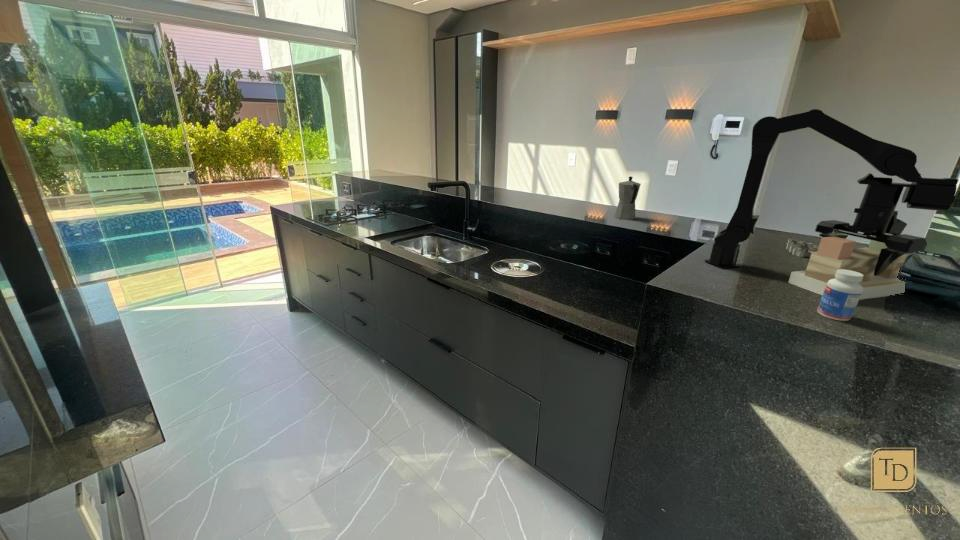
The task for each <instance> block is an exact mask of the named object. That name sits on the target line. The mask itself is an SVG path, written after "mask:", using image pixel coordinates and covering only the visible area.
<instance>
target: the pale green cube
mask: <svg viewBox="0 0 960 540" xmlns="http://www.w3.org/2000/svg"><path fill="white" fill-rule="evenodd" d="M885 234H886V235H893V234H888V233H885ZM873 237H876V236H873ZM884 248H887V246H886V245H885V243H883V242H878V241H874V240H870V242H869V243H868V249H870V250H874V251H878V252H881V249H884Z"/></svg>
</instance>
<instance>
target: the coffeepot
mask: <svg viewBox="0 0 960 540" xmlns="http://www.w3.org/2000/svg"><path fill="white" fill-rule="evenodd" d="M633 178H634V177H633V176H628V180H625V181H621V182H619V183H618V199H619V201H618V204H617V207H616V211H615V214H614V218H616V219H618V220H623V221H624V220H627V221H630V220H632V221H633V220H635V219H636V200H637V196H638V194H639V191H640V187H641V183H639V182H636V181H633Z"/></svg>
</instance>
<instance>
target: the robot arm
mask: <svg viewBox="0 0 960 540" xmlns="http://www.w3.org/2000/svg"><path fill="white" fill-rule="evenodd" d="M807 128H808V129H811V130H814V131H815V132H817V133H818V134H821V135H823V136H824V137H826V138H828V139H830V140H832V141H834V142H836V143H837V144H839V145H841V146H843V147H845V148H847V149H849V150H850V151H852V152H854V153H856V154H857V155H858V156H859V157H861V158H862V159H863V160H864V161H866V163H868V164H869V165H870V166H871V167H873V168H874V169H875V170H876V171H877V172H879V173H881V174H883V175H886V176H888V177H883V176H882V177H881V176H879V177H877V176H874V174H873V173H871V172H869V173H868V174H866V175H865V176H863V177H860V178H859V179H857V181H856V182H857V183H858V184H859V185H867V186H866V189H865V192H864V194H863V197H862V198H861V202H860V205H859V207H855V208H854V209H853V210H854V211H853V213H854V214H855V213H856V216H855V218H854V221H853V224H850V222H846V221H841V220H835V219H832V220H829V219H828V220H821V221H820V222H818V223H817V224H816V227H815V230H814V232H815V233H819V237H821V238H822V237H833V236H835V237H839V238H844V239H847V238H848V236H852V237H856V238H861V239H864V240H870V241H871V240H874V241H878V242H883V243H885V245H886V246H887V248H884V249H881V252H880V255H879V258H878V261H877V264H876V267H875V270H874V276H879V275H880V274H881V273H882V272H883V271H884V270H885V269H886V268H887V267H888V266H889V265H890V264H891V263H892V262H894V261H895V260H896V259H897V258H899V257H900V256H902V255H904V254H907V255H908V254H914V253H915V252H924V251H925V249H926V248H927V246H928V242H927V240H926V238H925V237H921V236H916V235H913V234H912V235H911V234H907V233H905V234H904V233H903V231H904V230H905V229H906V227H907V226H908V223H906V222H905V221H903V220H901V219H899V218H898V212H899V211H898V210H896V207H897V206H898V202H899V200H900V197H901V195H902V197H901V203H902V204H906V208H907V209H913V210H914V209H917V210H927V211H928V210H929V211H938V212H939V211H940V212H947V211H948V210H949V209H950V208H951V206H952V205H953V203H954V201H955V200H956V197H957V195H956V193H957V189H958V188H957V184H958V182H959V179H958V178H955V177H944V178H937V177H936V178H935V177H922V176H921V175H922V174H921V173H919V171H918V169H917V167H916V164H917V162H918V161H917V157H918V156H917V154H916V153H915V152H914V151H912V149H908V148H906V147H902V146H898V145H895V144H892V143H888V142H886V141H881V140H878V139H874V138H872V137H871V136H868V135H867V134H865V133H863V132H861V131H859V130H858V129H855V128H853V127H851V126H849V125H848V124H846V123H843V122H841V121H839V120H838V119H835V118H833V117H831V116H830V115H827V114H826V113H824V112H823V110H821V109H818V108H813V109H810V110H807V111H805V112H801V113H795V114H792V115H787V116H781V117H776V116H769V115H768V116H765V117H762V118H760V119H759V120H757V121H756V122H755V124H753V127H752V131H751V151H750V152H751V153H750V159H749V163H748V167H747V170H746V173H745V178H744V181H743V184H742V188H741V191H740V196H739V199H738V203H737V206H736V209H735V210H734V213H733V214H732V217H731V218H730V220H729V222H728V224H727V226H726V228H725V229H723V230H722V231H720V232H718V233H717V235H716V236H715V237H714V242H713V244H712V249H711V252H710V256H709V259H705V260H704V262H706V263H708V264H710V265H713V266H716V267H718V268H721V269H729V268H730V269H732V268H740V267H741V265H740V264H738V263H737V262H738V257H739V254H740V247H741V244H740V243H743V242H745V241H747V240H748V239H749V238H750V236H751V234H752V235H754V234H755V231H756V230H757V228H756V225H757V222H758V219H759V218H760V215H758V214H757V215H756V214H755V213H754V212H755V211H754V209H755V205H756V201H757V197H758V194H759V191H760V187H761V184H762V181H763V177H764V173H765V170H766V166H767V163H768V159H769V156H770V154H771V153H772V150H773V149H774V146H775V144H776V142H777V141H778V139H779V137H780V135H781V134H784V133H790V132H793V131H798V130H802V129H807ZM892 177H897V178H899V179H901V180H903V181H906V183H905V182H893V178H892ZM904 188H905V190H904ZM903 191H904V192H903ZM902 193H903V194H902ZM754 214H755V215H754ZM885 233H888V234H893V235H886V234H885ZM873 236H876V237H873Z"/></svg>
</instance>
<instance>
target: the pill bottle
mask: <svg viewBox="0 0 960 540" xmlns="http://www.w3.org/2000/svg"><path fill="white" fill-rule="evenodd" d="M863 276H864V275H863V274H861V273H859V272H856V271H851V270H845V269H839V270H837V272H836V274H835V277H836V278H835V279H831V280H829V281H828V282H827V285H826V287H825V290H824V293H823V295H821V299H820V300H819V304H818V307H817V309H816V312H817V313H818V314H819V315H821V316H823V317H824V318H827V319H830V320H836V321H842V322H846V321H847V322H848V321H849V320H851V319H852V317H853V315H854V313H855V311H856V309H857V305H858V303H859V301H860V300H859V299H860V296H861V294H862V291H863V287H862V286H861V285H860V284H859V283H860V282H861V281H862V279H863Z"/></svg>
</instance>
